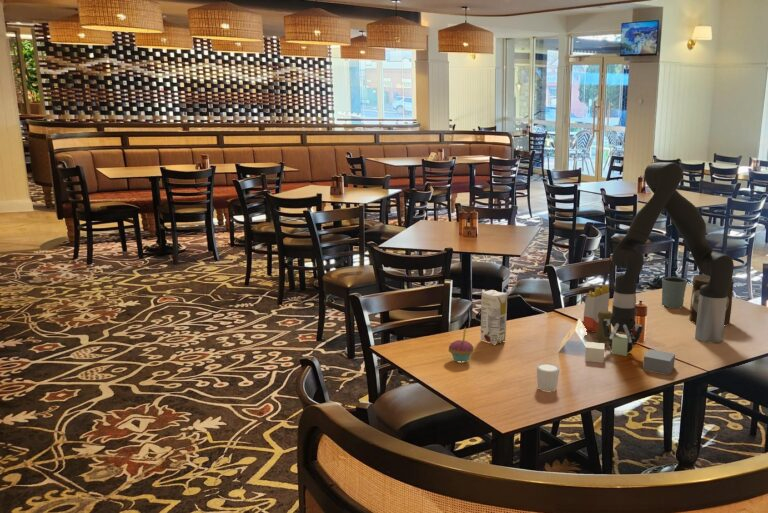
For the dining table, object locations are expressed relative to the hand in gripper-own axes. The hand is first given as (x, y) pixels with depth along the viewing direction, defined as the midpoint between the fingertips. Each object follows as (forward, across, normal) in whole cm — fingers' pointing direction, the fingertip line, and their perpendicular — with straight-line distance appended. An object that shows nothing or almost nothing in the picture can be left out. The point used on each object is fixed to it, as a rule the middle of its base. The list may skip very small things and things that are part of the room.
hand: (620, 349), depth 228 cm
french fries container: (+1, +15, -20) cm, 25 cm away
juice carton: (+1, +43, +14) cm, 45 cm away
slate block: (+1, -14, +8) cm, 17 cm away
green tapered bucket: (+1, -4, -72) cm, 72 cm away
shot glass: (+1, +11, +44) cm, 45 cm away
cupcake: (+1, +44, +38) cm, 58 cm away
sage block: (+1, 0, 0) cm, 1 cm away
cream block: (+1, +6, +11) cm, 13 cm away
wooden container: (+1, -21, -56) cm, 60 cm away
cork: (+1, +9, -11) cm, 14 cm away
